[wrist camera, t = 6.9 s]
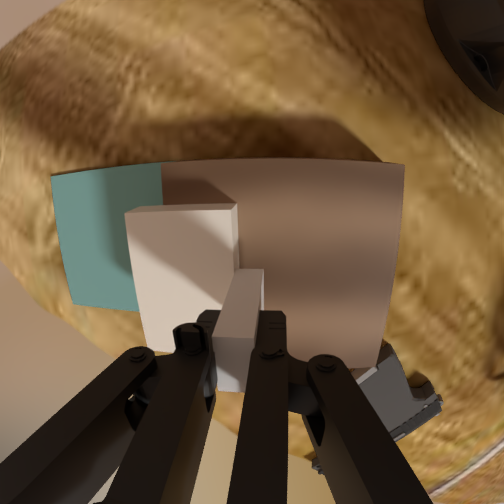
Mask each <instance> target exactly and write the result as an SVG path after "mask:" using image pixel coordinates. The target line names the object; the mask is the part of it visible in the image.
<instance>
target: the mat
mask: <svg viewBox="0 0 504 504" xmlns="http://www.w3.org/2000/svg"><path fill="white" fill-rule="evenodd" d="M170 162H174V161H170ZM161 163H167V162H158V163H147V164H137V165H128V166H119V167H111V168H103V169H96V170H89V171H82V172H75V173H69V174H63V175H57V176H52V177H51V184H52V194H53V203H54V211H55V218H56V225H57V231H58V237H59V243H60V248H61V254H62V259H63V263H64V268H65V273H66V277H67V281H68V286H69V290H70V294H71V297H72V301H73V304H76V305H83V306H92V307H100V308H109V309H119V310H128V311H139V312H140V310H139V305H138V300H137V295H136V289H135V284H134V278H133V272H132V266H131V260H130V253H129V246H128V239H127V231H126V223H125V214H124V213H126V212H128V211H130V210H132V209H135V208H137V207H139V206H157V205H163V196H162V181H161Z"/></svg>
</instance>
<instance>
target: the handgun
mask: <svg viewBox="0 0 504 504" xmlns="http://www.w3.org/2000/svg"><path fill="white" fill-rule="evenodd" d="M351 374H352V376H353V377H354V379H355V380H356V382H357V383H358V385H359V386H360V388H361V390H362V391H363V393H364V394H365V396H366V397H367V399H368V400H369V402H370V404H371V405H372V407H373V408H374V410H375V411H376V413H377V414H378V416H379V418H380V419H381V421H382V422H383V424H384V425H385V427H386V429H387V430H388V432H389V433H390V435H391V437H392V438H393V440H394V441H395V442H397V441H398V440H400V439H402V438H403V437H405V436H406V435H408V434H409V433H411V432H412V431H414V430H415V429H417V428H418V427H420V426H421V425H423V424H424V423H426V422H427V421H428V420H430V419H431V418H433V417H434V416H438V415H439V414H440V413H439V412H441V411H442V409H441V406H442V405H443V400H442V397H441V395H440V394H438V395H436V393H435V391H434V388H433V386H432V384H431V382H430V381H428V382H427V383H426V384H425V385H423V386H422V387H421V388H411V387H410V386H409V384H408V383H407V379H406V376H405V373H404V370H403V368H402V365H401V363H400V361H399V359H398V357H397V355H396V353H395V351H394V349H393V348H392V346H391V344H387V345H386V346H384V347H383V348H382V349H380V351H379V355H378V359H377V363H376V366H375V367H366V368H356V369H354V370H353V371H352V372H351ZM312 468H313V469H315V470H317V471H318V474H323V475H324V473H323V470H322V467H321V465H320V462H319V460H318V457H317V458H315V459H313V460H312Z"/></svg>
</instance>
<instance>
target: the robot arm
mask: <svg viewBox="0 0 504 504" xmlns="http://www.w3.org/2000/svg"><path fill="white" fill-rule="evenodd" d="M424 6H425V11H426V15H427V19H428V22H429V25H430V27H431V30H432V32H433V35H434V37H435V39H436V41H437V43H438V45H439V47H440V48H441V50H442V52H443V54H444V55H445V57H446V59H447V60H448V62H449V63H450V65H451V66H452V68H453V69H454V70H455V72H456V73H457V74H458V76H459V77H460V78H461V79H462V81H463V82H464V83H465V84H466V85H467V86H468V87H469V89H470V90H471V91H472V92H473V93H474V94H475V95H477V96H478V97H479V98H480V99H481V100H482V101H483V102H485V103H486V104H487V105H488V106H490V107H491V108H493V109H494V110H496V111H498V112H500V113H502V114H504V0H424ZM172 332H173V337H174V343H175V348H176V349H175V351H174V353H173V354H169V355H161V356H155V353H154V352H153V350H152V349H150V348H148V347H143V346H140V347H134V348H131V349H128V350H127V351H125V352H124V353H123V354H122V355H121V356H120V357H118V358H117V359H116V360H115V361H114V362H113V363H112V364H111V365H109V366H108V367H107V368H106V369H105V370H104V371H103V372H101V374H99V375H98V376H97V377H96V378H95V379H94V380H93V381H92V382H90V383H89V384H88V385H87V386H86V387H85V388H83V389H82V390H81V391H80V392H79V393H78V394H77V395H76V396H75V397H73V398H72V399H71V400H70V401H69V402H68V403H67V404H66V405H64V406H63V407H62V408H61V409H60V410H59V411H58V412H57V413H56V414H54V415H53V416H52V417H51V418H50V419H49V420H48V421H47V422H46V423H44V424H43V425H42V426H41V427H40V428H39V429H38V430H37V431H36V432H34V433H33V434H32V435H31V436H30V437H29V438H28V439H27V440H26V441H25V442H24V443H22V444H21V445H20V446H19V447H18V448H17V449H16V450H15V451H14V452H12V453H11V454H10V455H9V456H8V457H7V458H6V459H5V460H4V461H3V462H2V463H0V504H88V503H89V501H90V500H91V499H92V498H93V497H94V496H95V494H96V493H97V492H98V491H99V490H100V488H101V487H102V486H103V485H104V483H106V481H107V480H108V479H109V478H110V477H111V475H112V474H113V473H114V472H115V470H116V469H117V468H118V467H119V468H118V471H117V473H116V475H115V477H114V480H113V482H112V484H111V486H110V488H109V491H108V493H107V495H106V497H105V499H104V500H103V501H102V502H97V503H93V504H190V501H191V497H192V493H193V489H194V485H195V481H196V477H197V473H198V469H199V465H200V461H201V457H202V454H203V449H204V446H205V442H206V437H207V433H208V430H209V426H210V421H211V418H212V414H213V410H214V406H215V402H216V393H215V388H216V385H218V391H228V392H245V395H244V402H243V408H242V414H241V420H240V427H239V433H238V439H237V445H236V451H235V458H234V463H233V470H232V475H231V481H230V487H229V492H228V498H227V504H287V477H288V411H290V412H294V413H298V414H302V419H303V422H304V424H305V427H306V429H307V432H308V434H309V437H310V440H311V442H312V445H313V447H314V450H315V452H316V455H317V457H318V460H319V462H320V465H321V467H322V470H323V473H324V475H325V477H326V480H327V483H328V485H329V487H330V490H331V493H332V495H333V498H334V500H335V502H336V504H433V502H432V501H431V499H430V498H429V496H428V494H427V493H426V491H425V489H424V488H423V486H422V485H421V483H420V481H419V480H418V478H417V476H416V475H415V473H414V472H413V470H412V468H411V467H410V465H409V464H408V462H407V460H406V459H405V457H404V456H403V454H402V452H401V451H400V449H399V448H398V446H397V444H396V443H395V441H394V440H393V438H392V437H391V435H390V433H389V432H388V430H387V429H386V427H385V425H384V424H383V422H382V421H381V419H380V418H379V416H378V414H377V413H376V411H375V410H374V408H373V407H372V405H371V404H370V402H369V400H368V399H367V397H366V396H365V394H364V393H363V391H362V390H361V388H360V386H359V385H358V383H357V382H356V380H355V379H354V377H353V376H352V374H351V373H350V371H349V369H348V368H347V366H346V365H345V363H344V362H343V361H342V360H341V359H340V358H338V357H336V356H334V355H329V354H320V355H316V356H313V357H312V358H311V359H309V361H308V362H306V361H302V360H298V359H296V358H294V357H292V356H291V355H290V354H289V352H288V350H287V327H286V315H285V314H284V313H283V312H282V310H264V269H236V270H235V273H234V276H233V279H232V281H231V284H230V287H229V290H228V292H227V295H226V298H225V301H224V304H223V306H222V309H221V310H209V309H206V310H205V311H203V312H202V313H201V314H199V316H198V318H197V320H196V322H195V323H194V322H193V323H184V324H181V325H179V326H177V327H175V328H174V329H173V330H172ZM132 394H133V397H132V398H131V399H128V398H130V396H131V395H132Z"/></svg>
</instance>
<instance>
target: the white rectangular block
mask: <svg viewBox="0 0 504 504" xmlns="http://www.w3.org/2000/svg"><path fill="white" fill-rule="evenodd" d="M124 214H125V223H126V231H127V239H128V246H129V253H130V260H131V266H132V272H133V278H134V284H135V289H136V295H137V300H138V305H139V310H140V315H141V320H142V324H143V329H144V333H145V338H146V342H147V346H148V348H150V349H152V350H154V351H162V352H171V353H174V351H175V349H176V348H175V343H174V337H173V332H172V330H173V329H174V328H175V327H177V326H179V325H181V324H184V323H193V322H194V323H195V322H196V320H197V318H198V316H199V314H201V313H202V312H203V311H205V310H206V309H209V310H221V309H222V306H223V304H224V301H225V298H226V295H227V292H228V290H229V287H230V284H231V281H232V279H233V276H234V273H235V270H236V269H240V268H239V243H238V216H237V203H219V204H183V205H157V206H139V207H137V208H135V209H132V210H130V211H128V212H126V213H124Z"/></svg>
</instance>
